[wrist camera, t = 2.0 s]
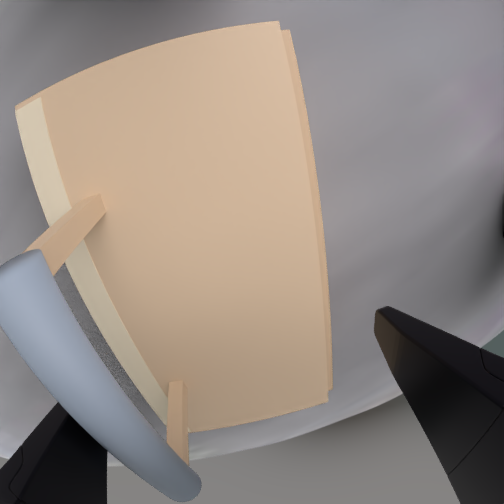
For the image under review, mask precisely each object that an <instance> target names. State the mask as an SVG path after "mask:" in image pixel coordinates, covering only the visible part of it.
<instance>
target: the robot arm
mask: <svg viewBox="0 0 504 504" xmlns="http://www.w3.org/2000/svg"><path fill="white" fill-rule="evenodd" d="M503 237H504V233H503ZM374 333H375V336H376V339H377V341H378V343H379V345H380V347H381V350H382V352H383V354H384V356H385V359H386V361H387V363H388V366H389V368H390V370H391V372H392V374H393V376H394V378H395V380H396V382H397V384H398V385H399V387H400V389H401V390H402V392H403V394H404V396H405V397H406V399H407V401H408V403H409V405H410V406H411V408H412V410H413V411H414V413H415V415H416V417H417V419H418V421H419V423H420V424H421V426H422V428H423V430H424V432H425V434H426V435H427V437H428V439H429V441H430V443H431V445H432V447H433V449H434V451H435V452H436V454H437V456H438V458H439V460H440V462H441V464H442V466H443V468H444V470H445V472H446V474H447V475H448V478H449V481H450V482H451V485H452V487H453V489H454V491H455V493H456V495H457V497H458V499H459V501H460V504H504V358H503V357H500V356H498V355H496V354H493V353H491V352H489V351H487V350H484V349H482V348H479V347H478V346H476V345H473V344H471V343H469V342H467V341H465V340H462V339H460V338H458V337H456V336H454V335H452V334H449V333H447V332H445V331H443V330H441V329H438V328H436V327H434V326H432V325H430V324H427V323H425V322H423V321H421V320H419V319H416V318H414V317H412V316H410V315H407V314H405V313H403V312H401V311H399V310H396V309H394V308H392V307H390V306H386V307H383V308H380V309H378V310H376V312H375V324H374ZM0 504H107V450H106V449H105V448H104V447H103V446H102V445H101V444H100V443H98V442H97V441H96V440H95V439H94V438H93V437H92V436H91V435H90V434H89V433H88V432H87V431H86V430H85V429H84V428H83V427H82V426H81V425H80V424H79V423H78V422H77V421H76V420H75V419H74V418H73V417H72V416H71V415H70V414H69V413H68V412H67V411H66V410H65V409H64V408H63V407H62V406H61V404H60V403H59V402H58V403H57V404H56V405H55V406H54V407H53V408H52V410H51V411H50V412H49V413H48V414H47V415H46V416H45V418H44V419H43V420H42V421H41V422H40V423H39V425H38V426H37V427H36V428H35V429H34V431H33V432H32V433H31V434H30V435H29V436H28V438H27V439H26V440H25V441H24V442H23V444H22V445H21V446H20V447H19V448H18V450H17V451H16V452H15V453H14V454H13V456H12V457H11V458H10V459H9V460H8V461H7V463H6V464H5V465H4V466H3V467H2V468H1V469H0Z"/></svg>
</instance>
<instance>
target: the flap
mask: <svg viewBox="0 0 504 504" xmlns="http://www.w3.org/2000/svg"><path fill="white" fill-rule="evenodd" d="M15 110H16V111H15V114H16V119H17V123H18V128H19V132H20V136H21V140H22V144H23V148H24V152H25V156H26V159H27V163H28V166H29V170H30V173H31V176H32V179H33V183H34V186H35V189H36V192H37V195H38V198H39V200H40V203H41V206H42V209H43V211H44V214H45V217H46V219H47V222H48V225H49V228H48V229H47V230H46V231H45V232H44V233H43V234H42V235H41V236H39V237H38V238H37V239H36V240H35V241H34V242H33V243H32V244H31V245H30V246H29V247H28V248H27V249H26V250H25V251H24V252H23V253H22V254H20V255H18V256H16V257H14V258H12V259H11V260H9V261H7V262H6V263H4V264H3V265H1V266H0V326H1V327H2V329H3V330H4V332H5V333H6V335H7V336H8V338H9V339H10V341H11V342H12V344H13V345H14V347H15V348H16V350H17V351H18V352H19V354H20V355H21V357H22V358H23V359H24V361H25V362H26V363H27V365H28V366H29V367H30V369H31V370H32V371H33V372H34V374H35V375H36V376H37V377H38V379H39V380H40V381H41V382H42V384H43V385H44V386H45V387H46V388H47V390H48V391H49V392H50V393H51V394H52V395H53V397H54V398H55V399H56V400H57V401H58V402H59V403H60V404H61V406H62V407H63V408H64V409H65V410H66V411H67V412H68V413H69V414H70V415H71V416H72V417H73V418H74V419H75V420H76V421H77V422H78V423H79V424H80V425H81V426H82V427H83V428H84V429H85V430H86V431H87V432H88V433H89V434H90V435H91V436H92V437H93V438H94V439H95V440H96V441H97V442H98V443H100V444H101V445H102V446H103V447H104V448H105V449H106V450H107V451H108V452H110V453H111V454H112V455H113V456H114V457H115V458H117V459H118V460H119V461H120V462H121V463H123V464H124V465H125V466H126V467H128V468H129V469H130V470H132V471H133V472H134V473H135V474H137V475H138V476H139V477H141V478H142V479H143V480H145V481H146V482H147V483H149V484H150V485H151V486H153V487H154V488H156V489H157V490H159V491H160V492H161V493H163V494H164V495H166V496H167V497H169V498H170V499H172V500H174V501H177V502H186V501H190V500H192V499H194V498H195V497H196V496H197V495H198V494H199V492H200V490H201V480H200V477H199V476H198V475H197V474H196V473H195V472H194V471H193V470H192V469H191V468H190V467H189V449H188V433H193V432H200V431H207V430H213V429H219V428H225V427H230V426H235V425H241V424H246V423H250V422H255V421H259V420H264V419H268V418H272V417H276V416H280V415H284V414H288V413H292V412H295V411H299V410H303V409H306V408H310V407H313V406H316V405H320V404H323V403H326V402H328V379H327V356H326V338H325V323H324V309H323V296H322V285H321V274H320V264H319V254H318V245H317V236H316V227H315V219H314V211H313V203H312V196H311V189H310V182H309V175H308V168H307V161H306V155H305V149H304V143H303V137H302V131H301V125H300V120H299V114H298V109H297V103H296V98H295V93H294V88H293V83H292V78H291V73H290V68H289V64H288V59H287V54H286V50H285V46H284V41H283V37H282V33H281V28H280V24H279V21H271V22H262V23H253V24H246V25H239V26H232V27H226V28H221V29H215V30H210V31H205V32H200V33H196V34H191V35H187V36H183V37H179V38H175V39H171V40H168V41H164V42H161V43H157V44H154V45H150V46H147V47H144V48H141V49H138V50H135V51H132V52H129V53H126V54H123V55H120V56H118V57H115V58H112V59H110V60H107V61H105V62H102V63H100V64H97V65H95V66H92V67H90V68H88V69H85V70H83V71H81V72H79V73H76V74H74V75H72V76H70V77H68V78H66V79H64V80H62V81H60V82H58V83H56V84H54V85H52V86H50V87H48V88H46V89H44V90H42V91H41V92H39V93H37V94H35V95H33V96H32V97H30V98H28V99H26V100H25V101H23V102H21V103H20V104H18V105H16V106H15ZM64 262H65V264H66V267H67V269H68V271H69V273H70V275H71V277H72V279H73V281H74V283H75V285H76V287H77V289H78V291H79V293H80V295H81V297H82V299H83V301H84V303H85V305H86V307H87V308H88V310H89V312H90V314H91V316H92V317H93V319H94V321H95V323H96V325H97V326H98V328H99V330H100V331H101V333H102V335H103V337H104V338H105V340H106V341H107V343H108V345H109V346H110V348H111V350H112V351H113V353H114V354H115V356H116V358H117V359H118V361H119V362H120V364H121V365H122V367H123V368H124V370H125V371H126V373H127V374H128V376H129V377H130V379H131V380H132V382H133V383H134V384H135V386H136V387H137V389H138V390H139V391H140V393H141V394H142V396H143V397H144V398H145V400H146V401H147V402H148V404H149V405H150V406H151V408H152V409H153V410H154V412H155V413H156V414H157V416H158V417H159V418H160V419H161V421H162V422H163V423H164V424H165V426H166V427H167V443H166V442H165V441H164V439H163V438H162V437H161V436H160V435H159V434H158V433H157V432H156V430H155V429H154V428H153V427H152V426H151V425H150V423H149V422H148V421H147V420H146V419H145V417H144V416H143V415H142V414H141V413H140V411H139V410H138V409H137V408H136V406H135V405H134V404H133V402H132V401H131V400H130V399H129V397H128V396H127V395H126V393H125V392H124V391H123V389H122V388H121V387H120V385H119V384H118V383H117V381H116V380H115V378H114V377H113V376H112V374H111V373H110V371H109V370H108V369H107V367H106V366H105V364H104V363H103V361H102V360H101V358H100V357H99V355H98V354H97V352H96V351H95V349H94V348H93V346H92V344H91V343H90V341H89V340H88V338H87V336H86V335H85V333H84V332H83V330H82V328H81V327H80V325H79V323H78V321H77V320H76V318H75V316H74V315H73V313H72V311H71V309H70V307H69V306H68V304H67V302H66V300H65V298H64V296H63V294H62V293H61V291H60V289H59V287H58V285H57V283H56V281H55V279H54V277H53V276H54V275H55V274H56V272H57V271H58V270H59V268H60V267H61V266H62V265H63V263H64Z"/></svg>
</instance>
